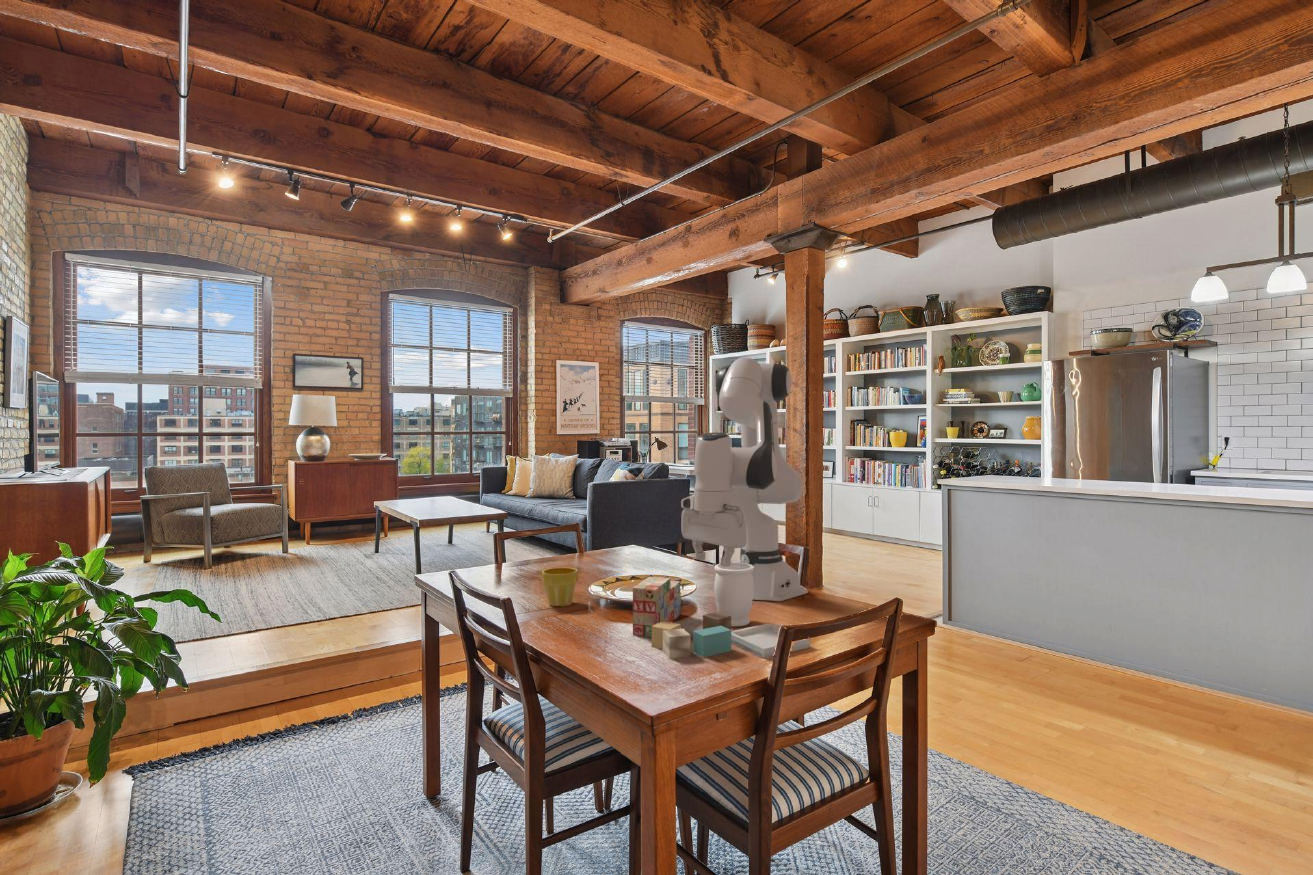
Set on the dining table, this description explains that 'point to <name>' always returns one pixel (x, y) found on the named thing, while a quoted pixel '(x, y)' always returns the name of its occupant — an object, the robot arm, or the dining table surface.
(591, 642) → the dining table surface
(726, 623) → the walnut cube
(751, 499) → the robot arm
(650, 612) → the stack of blocks
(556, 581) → the plant pot
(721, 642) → the teal brick
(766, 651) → the tray
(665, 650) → the maple cube
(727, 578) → the jar
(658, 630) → the ochre cube
